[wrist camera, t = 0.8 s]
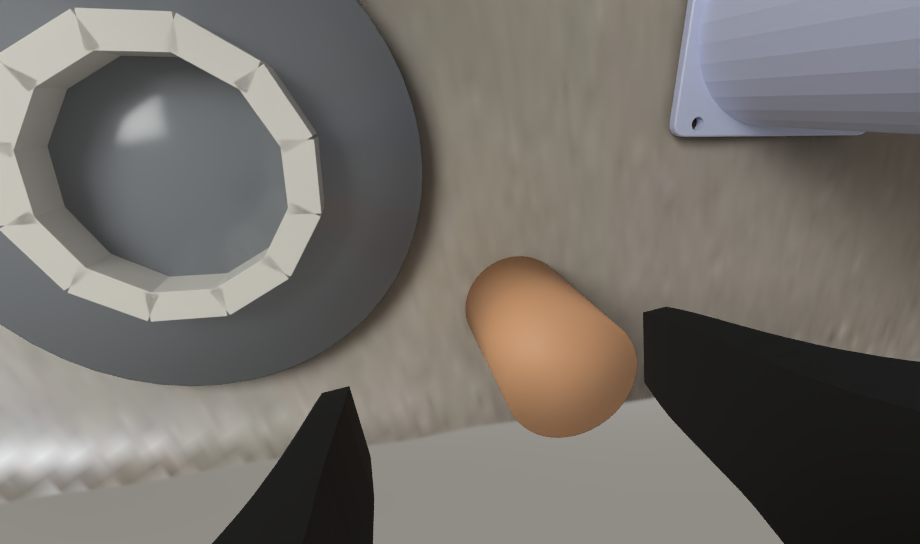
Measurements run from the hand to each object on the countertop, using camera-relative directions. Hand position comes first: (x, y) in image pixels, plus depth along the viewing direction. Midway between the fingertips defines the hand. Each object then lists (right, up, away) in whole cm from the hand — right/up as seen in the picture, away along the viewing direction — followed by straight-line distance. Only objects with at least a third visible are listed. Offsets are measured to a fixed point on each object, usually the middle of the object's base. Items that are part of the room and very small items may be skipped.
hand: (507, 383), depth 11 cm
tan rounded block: (+1, +1, +9) cm, 9 cm away
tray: (-10, +6, +5) cm, 13 cm away
